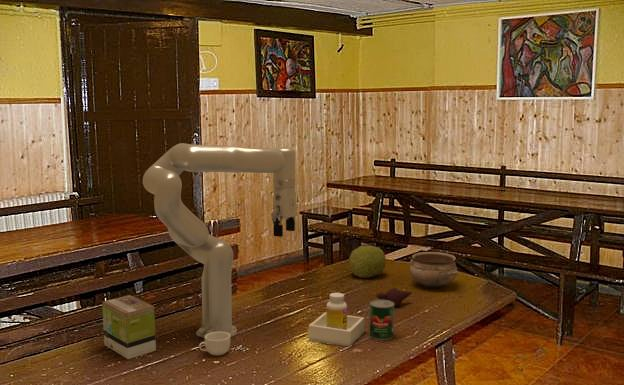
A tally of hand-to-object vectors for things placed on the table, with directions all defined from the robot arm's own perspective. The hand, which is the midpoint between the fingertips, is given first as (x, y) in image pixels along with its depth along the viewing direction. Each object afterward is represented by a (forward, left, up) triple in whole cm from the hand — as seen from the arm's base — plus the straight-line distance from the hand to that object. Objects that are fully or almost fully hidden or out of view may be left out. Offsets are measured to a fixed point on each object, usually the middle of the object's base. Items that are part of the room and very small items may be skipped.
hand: (284, 233), depth 228 cm
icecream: (+29, -32, -31) cm, 52 cm away
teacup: (-37, +6, -31) cm, 48 cm away
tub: (-9, -23, -30) cm, 39 cm away
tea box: (-44, +32, -31) cm, 62 cm away
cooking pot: (+59, -39, -31) cm, 77 cm away
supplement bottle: (-9, -23, -30) cm, 38 cm away
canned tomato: (-3, -36, -31) cm, 47 cm away
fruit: (+62, -10, -31) cm, 70 cm away
